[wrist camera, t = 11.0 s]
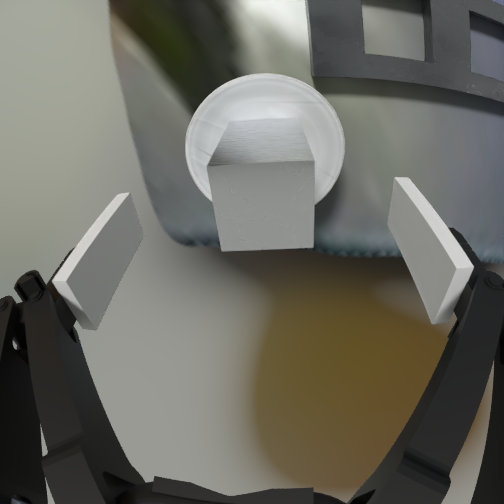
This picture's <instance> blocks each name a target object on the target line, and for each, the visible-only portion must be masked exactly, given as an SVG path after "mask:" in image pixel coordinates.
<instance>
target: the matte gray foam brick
mask: <svg viewBox="0 0 504 504" xmlns="http://www.w3.org/2000/svg"><path fill="white" fill-rule="evenodd" d="M207 173H208V178H209V184H210V190H211V196H212V201H213V207H214V212H215V218H216V223H217V228H218V234H219V239H220V244H221V250H222V251H242V250H264V249H265V250H266V249H293V248H313V243H314V203H315V160H314V157H313V154H312V152H311V149H310V146H309V144H308V141H307V138H306V136H305V133H304V131H303V128H302V125H301V123H300V120H299V118H279V119H261V120H247V121H235V122H229V124H228V126H227V128H226V130H225V132H224V133H223V135H222V137H221V139H220V141H219V143H218V145H217V147H216V149H215V151H214V153H213V155H212V157H211V159H210V161H209V163H208V165H207Z"/></svg>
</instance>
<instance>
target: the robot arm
mask: <svg viewBox="0 0 504 504" xmlns="http://www.w3.org/2000/svg"><path fill="white" fill-rule="evenodd" d="M387 226H388V227H389V229H390V231H391V233H392V235H393V237H394V239H395V241H396V243H397V245H398V247H399V249H400V251H401V253H402V256H403V258H404V260H405V262H406V264H407V266H408V268H409V270H410V273H411V275H412V277H413V279H414V281H415V284H416V286H417V289H418V291H419V293H420V296H421V298H422V300H423V303H424V305H425V308H426V310H427V313H428V315H429V318H430V320H431V323H432V324H438V323H445V322H448V321H449V320H450V318H451V315H452V314H453V312H455V315H456V317H457V321H456V323H455V324H454V326H453V328H452V330H451V332H450V333H449V335H448V338H449V340H448V342H447V344H446V347H445V349H444V351H443V354H442V356H441V358H440V360H439V363H438V365H437V367H436V369H435V371H434V373H433V375H432V377H431V380H430V381H429V384H428V385H427V387H426V389H425V391H424V393H423V395H422V397H421V399H420V401H419V403H418V404H417V406H416V408H415V410H414V412H413V414H412V415H411V417H410V418H409V420H408V422H407V424H406V425H405V427H404V429H403V430H402V432H401V433H400V435H399V437H398V438H397V440H396V441H395V443H394V445H393V446H392V447H391V449H390V450H389V452H388V453H387V455H386V456H385V458H384V459H383V461H382V462H381V464H380V465H379V466H378V468H377V469H376V470H375V472H374V473H373V474H372V475H371V476H370V477H369V478H368V480H367V481H366V482H365V483H364V484H363V485H362V486H361V487H360V489H359V490H358V491H357V492H356V493H355V494H354V496H353V497H352V498H351V499H350V500H349V502H348V503H347V504H441V502H442V501H443V499H444V497H445V496H446V494H447V492H448V490H449V487H450V483H451V480H450V477H449V474H450V471H451V469H452V467H453V465H454V463H455V461H456V459H457V457H458V455H459V453H460V451H461V449H462V446H463V444H464V442H465V440H466V438H467V435H468V433H469V431H470V428H471V426H472V423H473V421H474V419H475V416H476V413H477V411H478V408H479V405H480V403H481V400H482V397H483V394H484V391H485V388H486V385H487V382H488V378H489V375H490V372H491V368H492V365H493V361H494V379H493V393H492V404H491V412H490V420H489V427H488V433H487V440H486V445H485V450H484V455H483V460H482V464H481V468H480V472H479V476H478V480H477V484H476V487H475V491H474V494H473V497H472V501H471V504H504V280H503V279H502V278H501V277H500V276H499V275H498V274H496V273H494V272H491V271H486V269H485V268H484V266H483V265H482V263H481V262H480V260H479V259H478V257H477V256H476V254H475V253H474V251H472V248H471V247H470V245H469V244H467V241H466V240H465V238H464V237H463V236H462V234H460V233H459V232H458V231H457V230H455V229H454V228H447V226H446V225H445V223H444V222H443V221H442V219H441V218H440V217H439V215H438V214H437V213H436V211H435V210H434V209H433V208H432V206H431V205H430V204H429V202H428V201H427V200H426V199H425V197H424V196H423V195H422V194H421V192H420V191H419V190H418V189H417V188H416V186H415V185H414V184H413V183H412V182H411V180H410V179H409V178H405V177H394V183H393V191H392V198H391V205H390V211H389V218H388V224H387ZM143 238H144V233H143V231H142V227H141V225H140V222H139V219H138V216H137V212H136V209H135V207H134V203H133V200H132V197H131V193H123V194H118V195H117V196H116V197H115V198H114V199H113V201H112V202H111V203H110V204H109V205H108V206H107V208H106V209H105V210H104V211H103V213H102V214H101V215H100V216H99V218H98V219H97V220H96V221H95V223H94V224H93V225H92V226H91V228H90V229H89V230H88V232H87V233H86V234H85V236H84V237H83V238H82V239H81V241H80V242H79V244H78V245H77V246H76V247H74V248H73V249H72V250H71V251H70V252H69V253H68V255H67V256H66V257H65V258H64V261H62V263H61V264H60V267H58V268H57V270H56V271H55V273H54V274H53V276H52V277H51V279H50V280H49V282H48V283H47V285H46V284H45V282H44V281H43V279H42V277H41V276H40V274H39V272H38V271H36V270H32V271H29V272H27V273H25V274H24V275H22V276H21V277H20V278H19V279H18V281H17V282H16V284H15V287H14V289H15V291H16V292H17V294H18V295H19V297H20V298H21V300H22V301H23V302H21V303H16V302H15V301H14V299H13V297H12V296H5V297H3V298H1V299H0V504H48V500H47V489H46V481H45V477H46V480H47V483H48V486H49V489H50V492H51V494H52V497H53V499H54V502H55V504H346V503H345V502H342V501H341V500H339V499H337V498H334V497H332V496H329V495H325V494H322V493H317V492H313V488H295V489H294V488H293V489H269V490H264V491H259V492H254V493H249V494H242V495H236V496H227V495H223V494H220V493H217V492H215V491H212V490H209V489H206V488H203V487H201V486H198V485H195V484H193V483H190V482H184V481H178V480H172V479H167V478H162V477H157V476H155V477H154V482H147V483H146V482H145V481H144V479H143V478H142V476H141V475H140V474H139V473H138V472H137V471H136V469H135V468H134V467H132V465H131V464H130V462H129V461H128V459H127V457H126V455H125V453H124V451H123V449H122V447H121V445H120V443H119V441H118V439H117V437H116V435H115V433H114V431H113V428H112V426H111V424H110V422H109V419H108V417H107V415H106V412H105V410H104V408H103V405H102V403H101V400H100V398H99V395H98V393H97V390H96V387H95V385H94V382H93V379H92V377H91V374H90V371H89V368H88V365H87V362H86V359H85V356H84V353H83V350H82V347H81V344H80V340H79V337H78V333H77V331H76V329H75V328H74V324H75V322H76V320H77V321H78V322H79V324H80V325H81V327H82V328H83V329H89V330H97V329H98V326H99V324H100V322H101V320H102V318H103V316H104V313H105V311H106V309H107V307H108V305H109V303H110V301H111V299H112V297H113V295H114V293H115V291H116V289H117V287H118V285H119V283H120V281H121V279H122V277H123V275H124V273H125V271H126V269H127V267H128V265H129V264H130V262H131V260H132V258H133V256H134V254H135V252H136V251H137V249H138V247H139V245H140V243H141V241H142V240H143ZM13 341H14V342H15V343H16V344H17V349H14V347H13ZM40 423H41V427H42V431H43V435H44V439H45V442H46V446H47V450H48V453H47V455H45V456H42V445H41V429H40Z"/></svg>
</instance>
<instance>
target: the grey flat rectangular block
mask: <svg viewBox="0 0 504 504" xmlns="http://www.w3.org/2000/svg"><path fill="white" fill-rule="evenodd" d="M305 5H306V15H307V25H308V36H309V49H310V63H311V75H312V76H314V77H355V78H371V79H383V80H393V81H402V82H410V83H417V84H424V85H430V86H436V87H442V88H447V89H452V90H457V91H462V92H466V93H471V94H475V95H479V96H483V97H487V98H491V99H494V100H498V101H501V102H504V82H502V81H499V80H496V79H493V78H490V77H487V76H483V75H480V74H476V73H473V72H471V40H470V19H469V13H470V14H473V15H475V16H478V17H481V18H483V19H486V20H488V21H491V22H493V23H495V24H498V25H500V26H502V27H504V6H503V5H501V4H498V3H496V2H494V1H492V0H422V6H423V18H424V36H425V62H424V61H418V60H412V59H406V58H399V57H391V56H383V55H373V54H365V51H364V32H363V18H362V7H361V0H305Z"/></svg>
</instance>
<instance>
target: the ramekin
mask: <svg viewBox="0 0 504 504" xmlns="http://www.w3.org/2000/svg"><path fill="white" fill-rule="evenodd" d="M279 118H299V120H300V123H301V125H302V128H303V131H304V133H305V136H306V138H307V141H308V144H309V146H310V149H311V152H312V154H313V157H314V160H315V203H314V205H316V204H317V203H318V202H319V201H321V200H322V199H323V198H324V197H325V196H326V195H327V193H328V192H329V191H330V190H331V189H332V187H333V186H334V184H335V182H336V181H337V179H338V177H339V174H340V172H341V168H342V165H343V161H344V154H345V139H344V133H343V129H342V125H341V123H340V120H339V118H338V116H337V114H336V111H335V110H334V109H333V107H332V106H331V105H330V103H329V102H328V101H327V100H326V99H325V98H324V97H323V96H322V95H321V94H320V93H319V92H318V91H316V90H315V89H314V88H312V87H311V86H309V85H308V84H306V83H304V82H302V81H300V80H297V79H295V78H292V77H288V76H284V75H280V74H271V73H261V74H252V75H247V76H243V77H239V78H236V79H234V80H231V81H229V82H227V83H225V84H223V85H222V86H220V87H219V88H217V89H216V90H215V91H213V92H212V93H211V94H210V95H209V96H208V97H207V98H206V99H205V100H204V101H203V102H202V103H201V105H200V106H199V108H198V109H197V110H196V112H195V114H194V116H193V118H192V120H191V122H190V124H189V127H188V130H187V133H186V141H185V154H186V161H187V165H188V168H189V171H190V174H191V176H192V178H193V180H194V182H195V183H196V185H197V186H198V188H199V189H200V190H201V192H202V193H203V194H204V195H205V196H206V197H207V198H208V199H209V200H210V201H211V202H213V201H212V196H211V190H210V184H209V178H208V173H207V165H208V163H209V161H210V159H211V157H212V155H213V153H214V151H215V149H216V147H217V145H218V143H219V141H220V139H221V137H222V135H223V133H224V132H225V130H226V128H227V126H228V124H229V122H235V121H247V120H261V119H279Z"/></svg>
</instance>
